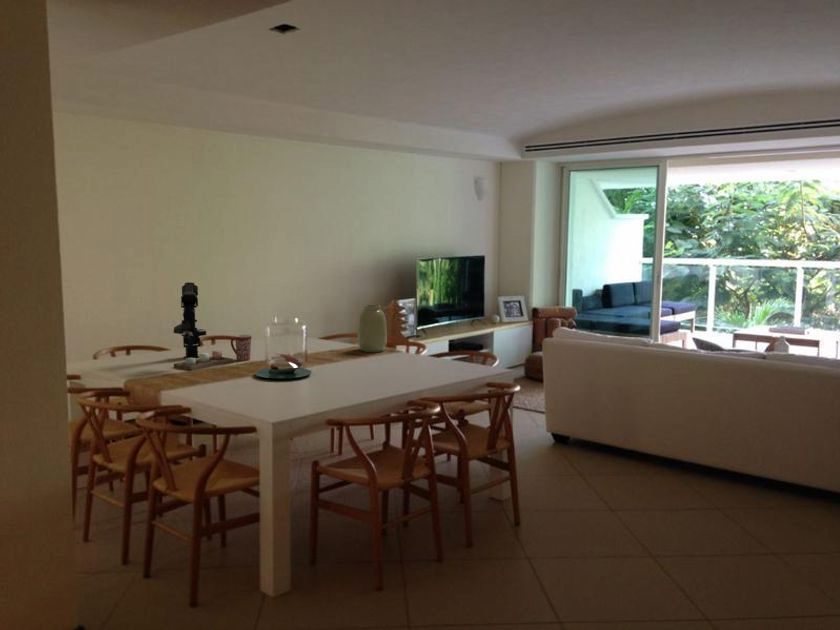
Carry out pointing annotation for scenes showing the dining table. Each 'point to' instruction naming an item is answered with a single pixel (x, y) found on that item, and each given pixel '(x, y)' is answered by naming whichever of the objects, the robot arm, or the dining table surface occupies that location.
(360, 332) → the vase
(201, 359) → the button cream
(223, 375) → the dining table surface
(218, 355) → the button terracotta
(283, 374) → the dark teal dish
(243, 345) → the mug
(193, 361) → the button sage
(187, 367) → the button board
